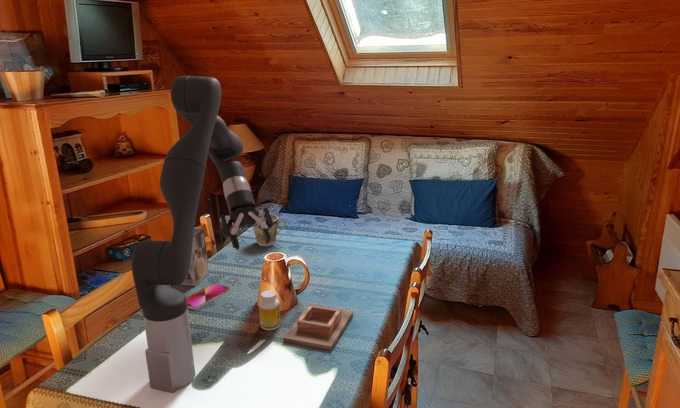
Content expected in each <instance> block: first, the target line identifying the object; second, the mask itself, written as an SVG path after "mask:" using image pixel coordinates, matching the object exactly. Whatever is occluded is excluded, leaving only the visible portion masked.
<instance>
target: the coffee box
mask: <svg viewBox="0 0 680 408" xmlns="http://www.w3.org/2000/svg"><path fill="white" fill-rule="evenodd" d="M205 234H206V233H205V229H204V228H198V227H197V228H195V227H194V235H193V244H192V254H191V262H190V267H189V272H188V275H187V277H186V279H185V281H184V282H183V283H182V284H180V285H179V286H190V287H191V286H193V287H196V286H198V285H200V283H202V281H203V280H204V279H205V278H207V276H208V275H209V274H210V272H209V270H210V269H209V261H208V253H207V244H206V236H205Z"/></svg>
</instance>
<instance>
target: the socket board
mask: <svg viewBox="0 0 680 408" xmlns="http://www.w3.org/2000/svg"><path fill="white" fill-rule="evenodd" d="M353 316H354V310H348V309H344V308H343V309H342V308H337V307H329V306H322V305H316V304H311V303H309V304H308V305H307V307H306V308H305V309H304V310H303V312H302V313H301V314H300V316H299V317H298V318H297V319H296V321H295V322H294V323H293V324H292V326H291V327H290V328H289V329H288V331H287V332H286V333H285V334H284V336H283V337H282V342H284V343H288V344H294V345H298V346H304V347H310V348H315V349H320V350H326V351H333V349H334V347H335V346H336V344H337V342H338V341H339V339H340V337H341V335H343V333H344V330H345V329H346V328H347V326H348V324H349V322H350V321H351V319H352V317H353Z"/></svg>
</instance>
